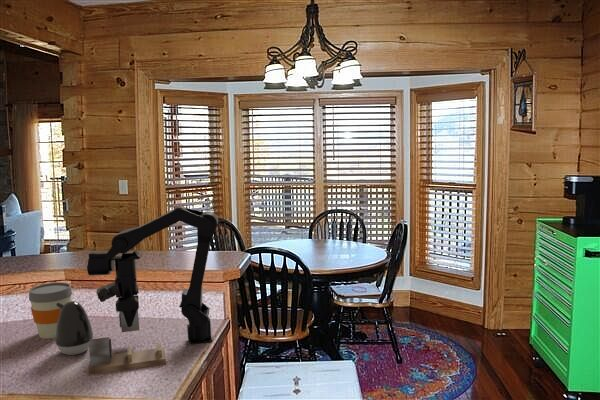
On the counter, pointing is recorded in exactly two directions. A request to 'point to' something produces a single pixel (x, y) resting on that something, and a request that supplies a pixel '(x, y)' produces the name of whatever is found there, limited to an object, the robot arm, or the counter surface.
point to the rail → (121, 357)
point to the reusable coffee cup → (48, 306)
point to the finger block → (124, 325)
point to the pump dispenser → (73, 329)
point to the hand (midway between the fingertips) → (129, 324)
